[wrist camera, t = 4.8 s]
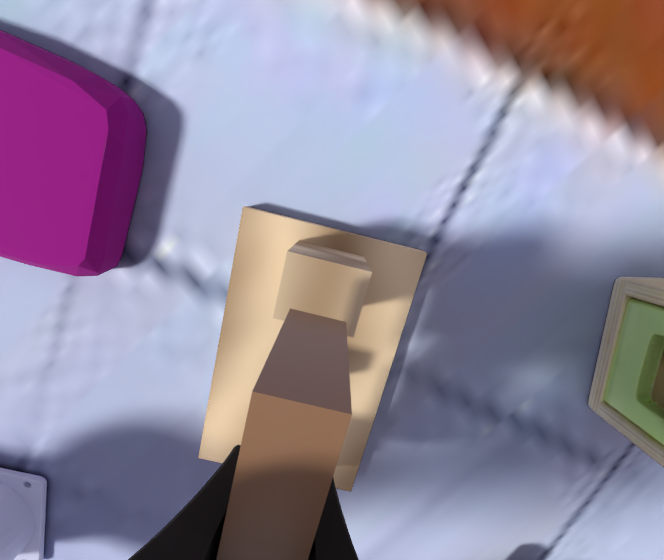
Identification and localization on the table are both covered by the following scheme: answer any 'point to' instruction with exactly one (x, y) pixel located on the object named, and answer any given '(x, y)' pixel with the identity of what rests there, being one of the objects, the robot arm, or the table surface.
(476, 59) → the table surface
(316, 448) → the brown bar
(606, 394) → the toy sink
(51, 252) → the spray bottle
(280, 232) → the stand
